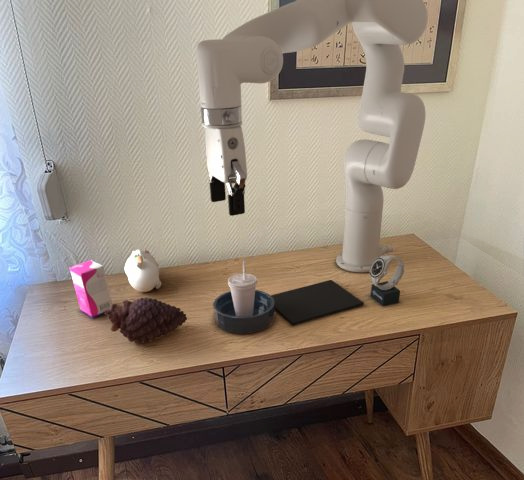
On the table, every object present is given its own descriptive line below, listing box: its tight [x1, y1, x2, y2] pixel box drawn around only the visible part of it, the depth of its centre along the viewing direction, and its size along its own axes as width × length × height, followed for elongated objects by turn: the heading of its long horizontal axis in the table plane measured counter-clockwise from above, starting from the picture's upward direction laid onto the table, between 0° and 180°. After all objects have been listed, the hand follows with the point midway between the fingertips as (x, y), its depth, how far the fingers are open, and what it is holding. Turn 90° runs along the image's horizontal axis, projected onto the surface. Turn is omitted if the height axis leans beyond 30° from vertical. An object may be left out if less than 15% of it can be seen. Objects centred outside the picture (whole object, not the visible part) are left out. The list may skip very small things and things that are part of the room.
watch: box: [368, 253, 405, 307], centre depth 122 cm, size 6×8×11 cm
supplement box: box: [69, 259, 113, 319], centre depth 122 cm, size 6×6×12 cm
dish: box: [212, 289, 276, 335], centre depth 118 cm, size 14×14×4 cm
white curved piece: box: [124, 248, 162, 293], centre depth 133 cm, size 10×8×15 cm
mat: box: [270, 279, 364, 327], centre depth 125 cm, size 19×14×1 cm
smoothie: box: [227, 259, 258, 317], centre depth 115 cm, size 6×6×14 cm
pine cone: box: [104, 296, 188, 345], centre depth 112 cm, size 18×10×10 cm
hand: (227, 207), depth 107 cm, fingers open, 9 cm apart
